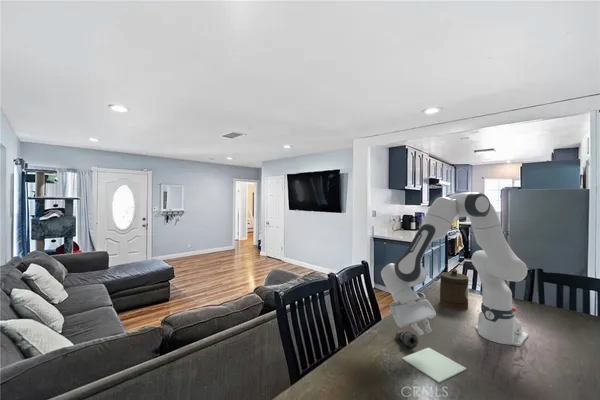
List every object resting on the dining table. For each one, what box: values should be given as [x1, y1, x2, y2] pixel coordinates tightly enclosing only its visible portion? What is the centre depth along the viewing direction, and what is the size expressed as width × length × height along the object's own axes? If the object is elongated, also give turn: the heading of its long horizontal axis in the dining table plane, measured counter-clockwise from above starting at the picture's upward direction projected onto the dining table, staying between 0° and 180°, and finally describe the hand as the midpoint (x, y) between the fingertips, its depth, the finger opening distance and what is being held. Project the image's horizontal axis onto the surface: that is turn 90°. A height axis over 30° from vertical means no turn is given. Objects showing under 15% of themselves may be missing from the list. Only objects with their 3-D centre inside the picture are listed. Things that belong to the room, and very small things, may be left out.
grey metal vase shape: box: [395, 331, 419, 349], centre depth 121 cm, size 6×6×12 cm
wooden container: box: [439, 268, 469, 311], centre depth 163 cm, size 15×15×22 cm
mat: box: [401, 347, 467, 384], centre depth 105 cm, size 16×16×1 cm
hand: (425, 333), depth 107 cm, fingers open, 3 cm apart
